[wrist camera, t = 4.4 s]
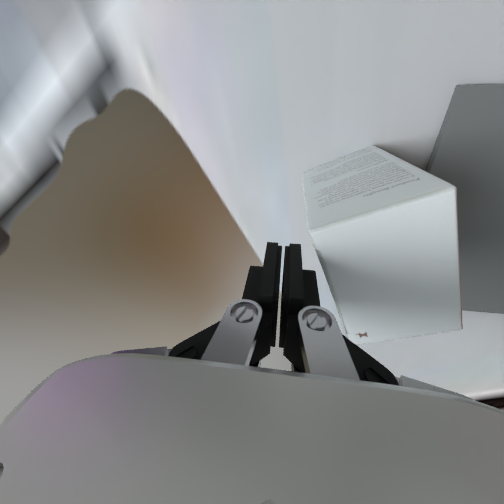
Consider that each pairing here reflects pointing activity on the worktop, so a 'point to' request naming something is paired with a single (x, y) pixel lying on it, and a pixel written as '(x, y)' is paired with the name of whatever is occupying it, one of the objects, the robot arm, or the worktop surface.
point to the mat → (476, 189)
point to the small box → (386, 245)
